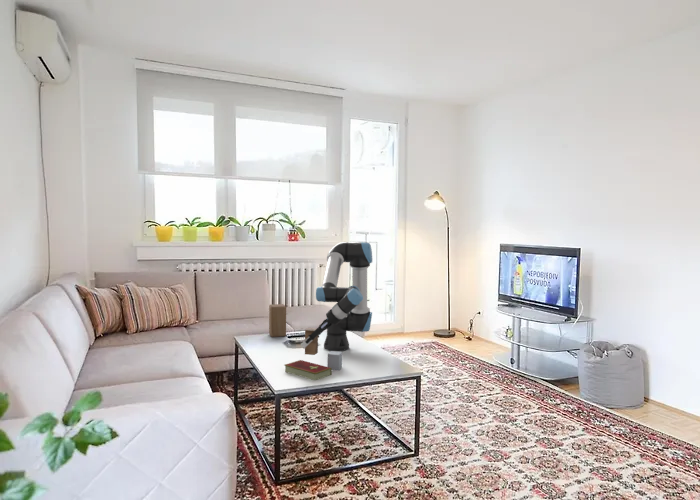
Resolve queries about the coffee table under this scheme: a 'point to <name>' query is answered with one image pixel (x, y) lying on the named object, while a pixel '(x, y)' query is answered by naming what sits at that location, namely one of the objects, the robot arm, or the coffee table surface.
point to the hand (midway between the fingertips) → (304, 345)
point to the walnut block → (313, 346)
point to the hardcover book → (308, 369)
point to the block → (277, 320)
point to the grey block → (335, 360)
